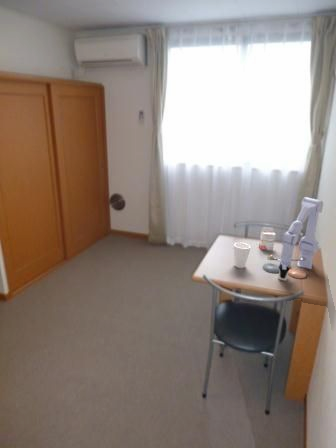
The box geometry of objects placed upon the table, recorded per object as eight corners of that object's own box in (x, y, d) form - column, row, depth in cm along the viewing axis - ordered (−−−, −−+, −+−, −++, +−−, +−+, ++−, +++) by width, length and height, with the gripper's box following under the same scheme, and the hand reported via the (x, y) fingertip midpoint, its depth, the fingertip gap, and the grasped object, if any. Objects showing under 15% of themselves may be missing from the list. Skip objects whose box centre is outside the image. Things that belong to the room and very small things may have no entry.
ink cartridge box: (260, 250, 218) (263, 229, 213) (258, 247, 223) (261, 226, 218) (273, 250, 219) (276, 229, 214) (270, 247, 223) (274, 227, 218)
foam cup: (247, 270, 189) (250, 249, 185) (231, 268, 191) (234, 247, 186) (247, 263, 198) (249, 243, 193) (231, 261, 199) (234, 241, 195)
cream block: (278, 275, 185) (280, 265, 183) (287, 277, 183) (288, 267, 181) (277, 278, 181) (279, 269, 179) (286, 280, 179) (288, 271, 177)
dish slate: (263, 263, 198) (264, 262, 198) (280, 267, 195) (281, 265, 194) (261, 270, 189) (261, 268, 189) (279, 274, 186) (279, 272, 186)
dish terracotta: (287, 268, 193) (288, 267, 193) (305, 272, 190) (306, 270, 189) (286, 275, 184) (287, 274, 184) (305, 279, 181) (305, 278, 181)
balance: (266, 260, 202) (268, 249, 200) (303, 268, 194) (306, 257, 192) (265, 264, 198) (267, 252, 195) (303, 272, 190) (306, 260, 188)
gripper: (280, 247, 185) (276, 269, 189) (278, 257, 172) (274, 279, 176) (293, 250, 182) (289, 271, 186) (292, 259, 169) (287, 282, 174)
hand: (282, 275), depth 181 cm, fingers closed on cream block, 5 cm apart
